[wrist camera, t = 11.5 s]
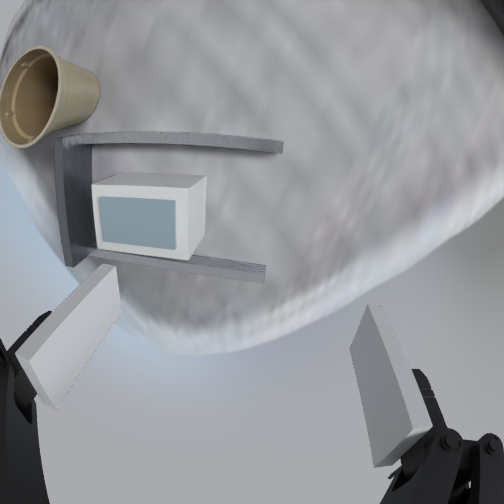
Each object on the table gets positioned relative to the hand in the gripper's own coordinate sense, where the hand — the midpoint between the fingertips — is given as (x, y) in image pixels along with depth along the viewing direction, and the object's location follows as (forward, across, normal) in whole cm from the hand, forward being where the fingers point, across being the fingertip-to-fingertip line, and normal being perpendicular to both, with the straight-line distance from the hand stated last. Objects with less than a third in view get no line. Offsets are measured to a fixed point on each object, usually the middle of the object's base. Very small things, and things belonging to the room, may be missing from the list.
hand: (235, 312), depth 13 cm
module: (+16, -10, 0) cm, 19 cm away
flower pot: (+16, -21, +11) cm, 29 cm away
